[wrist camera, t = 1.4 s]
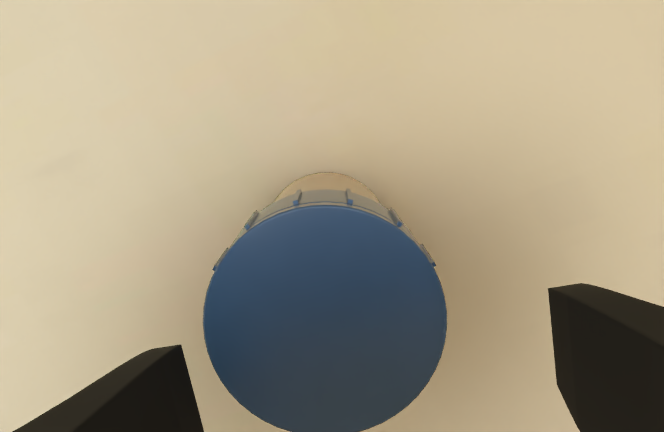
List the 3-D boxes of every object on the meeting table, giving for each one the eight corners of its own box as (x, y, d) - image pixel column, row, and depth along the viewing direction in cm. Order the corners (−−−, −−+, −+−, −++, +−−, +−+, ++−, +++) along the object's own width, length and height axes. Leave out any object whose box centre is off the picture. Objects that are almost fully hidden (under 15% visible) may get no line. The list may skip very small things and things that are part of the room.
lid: (253, 409, 15) (239, 463, 13) (195, 214, 14) (169, 235, 12) (449, 364, 15) (471, 410, 13) (404, 162, 14) (419, 173, 12)
